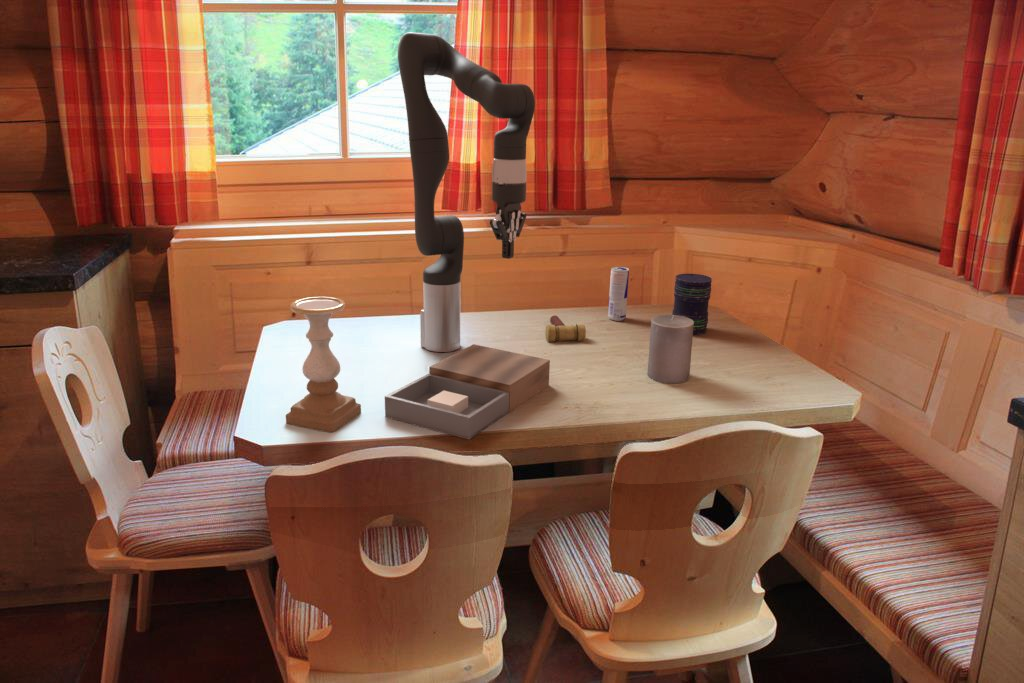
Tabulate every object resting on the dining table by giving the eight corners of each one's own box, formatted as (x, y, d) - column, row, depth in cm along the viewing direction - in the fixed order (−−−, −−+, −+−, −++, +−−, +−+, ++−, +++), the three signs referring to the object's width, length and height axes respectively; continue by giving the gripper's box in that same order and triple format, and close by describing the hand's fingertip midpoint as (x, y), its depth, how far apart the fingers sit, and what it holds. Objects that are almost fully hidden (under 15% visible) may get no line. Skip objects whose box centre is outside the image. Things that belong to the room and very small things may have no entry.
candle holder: (284, 423, 157) (276, 306, 150) (316, 403, 167) (310, 293, 159) (332, 433, 154) (326, 313, 146) (362, 412, 163) (357, 299, 156)
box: (385, 416, 161) (384, 396, 160) (428, 392, 174) (428, 373, 172) (469, 439, 152) (469, 418, 151) (508, 412, 165) (509, 392, 163)
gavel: (535, 309, 227) (569, 309, 229) (535, 325, 228) (569, 324, 230) (548, 326, 207) (586, 326, 208) (548, 344, 208) (585, 343, 210)
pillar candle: (663, 366, 193) (667, 306, 189) (697, 376, 187) (703, 315, 182) (638, 376, 187) (642, 314, 182) (673, 387, 180) (678, 324, 176)
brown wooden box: (429, 392, 174) (429, 366, 172) (473, 368, 189) (473, 344, 187) (509, 412, 165) (510, 385, 163) (548, 385, 180) (549, 360, 178)
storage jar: (710, 336, 217) (716, 282, 212) (674, 335, 217) (678, 281, 212) (702, 325, 226) (707, 273, 222) (667, 324, 226) (672, 273, 222)
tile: (443, 390, 167) (443, 401, 168) (427, 399, 162) (427, 411, 163) (468, 396, 164) (468, 407, 165) (452, 406, 159) (452, 417, 160)
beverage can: (628, 318, 231) (632, 267, 226) (621, 322, 227) (624, 271, 222) (612, 315, 234) (615, 265, 229) (604, 319, 230) (607, 268, 225)
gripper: (509, 175, 182) (507, 250, 187) (478, 181, 171) (478, 261, 176) (538, 178, 178) (536, 254, 184) (509, 184, 167) (507, 265, 173)
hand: (507, 257), depth 180 cm, fingers closed
